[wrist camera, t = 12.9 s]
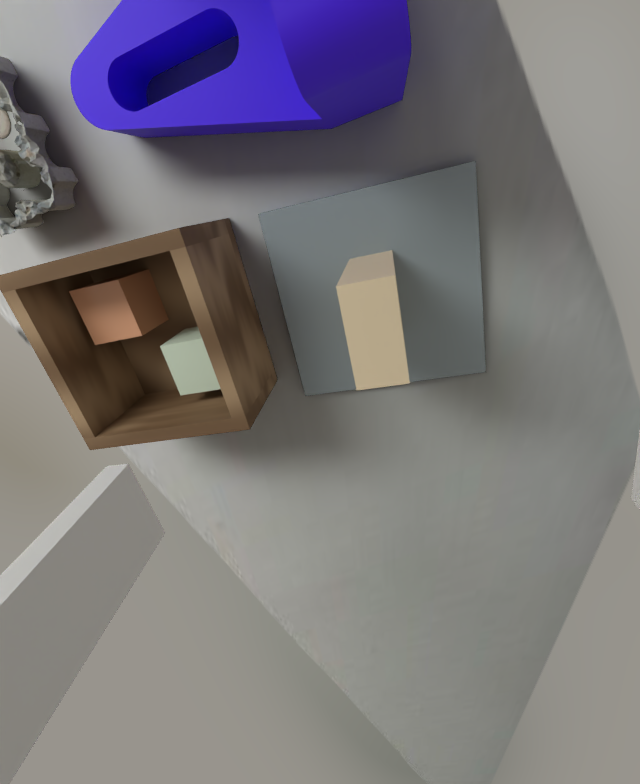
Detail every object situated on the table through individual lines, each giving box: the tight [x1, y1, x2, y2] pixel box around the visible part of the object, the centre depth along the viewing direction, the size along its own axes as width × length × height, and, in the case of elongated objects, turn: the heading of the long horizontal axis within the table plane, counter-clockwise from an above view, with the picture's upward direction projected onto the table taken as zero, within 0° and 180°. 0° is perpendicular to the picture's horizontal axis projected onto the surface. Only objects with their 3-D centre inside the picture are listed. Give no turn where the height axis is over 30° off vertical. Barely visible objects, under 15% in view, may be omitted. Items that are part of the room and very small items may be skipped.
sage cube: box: [160, 326, 221, 396], centre depth 31 cm, size 4×4×4 cm
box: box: [0, 218, 278, 450], centre depth 30 cm, size 13×13×8 cm
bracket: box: [71, 0, 411, 138], centre depth 20 cm, size 18×11×12 cm, turn 108°
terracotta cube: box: [69, 269, 169, 345], centre depth 30 cm, size 4×4×4 cm
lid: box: [258, 161, 486, 396], centre depth 26 cm, size 14×14×10 cm
